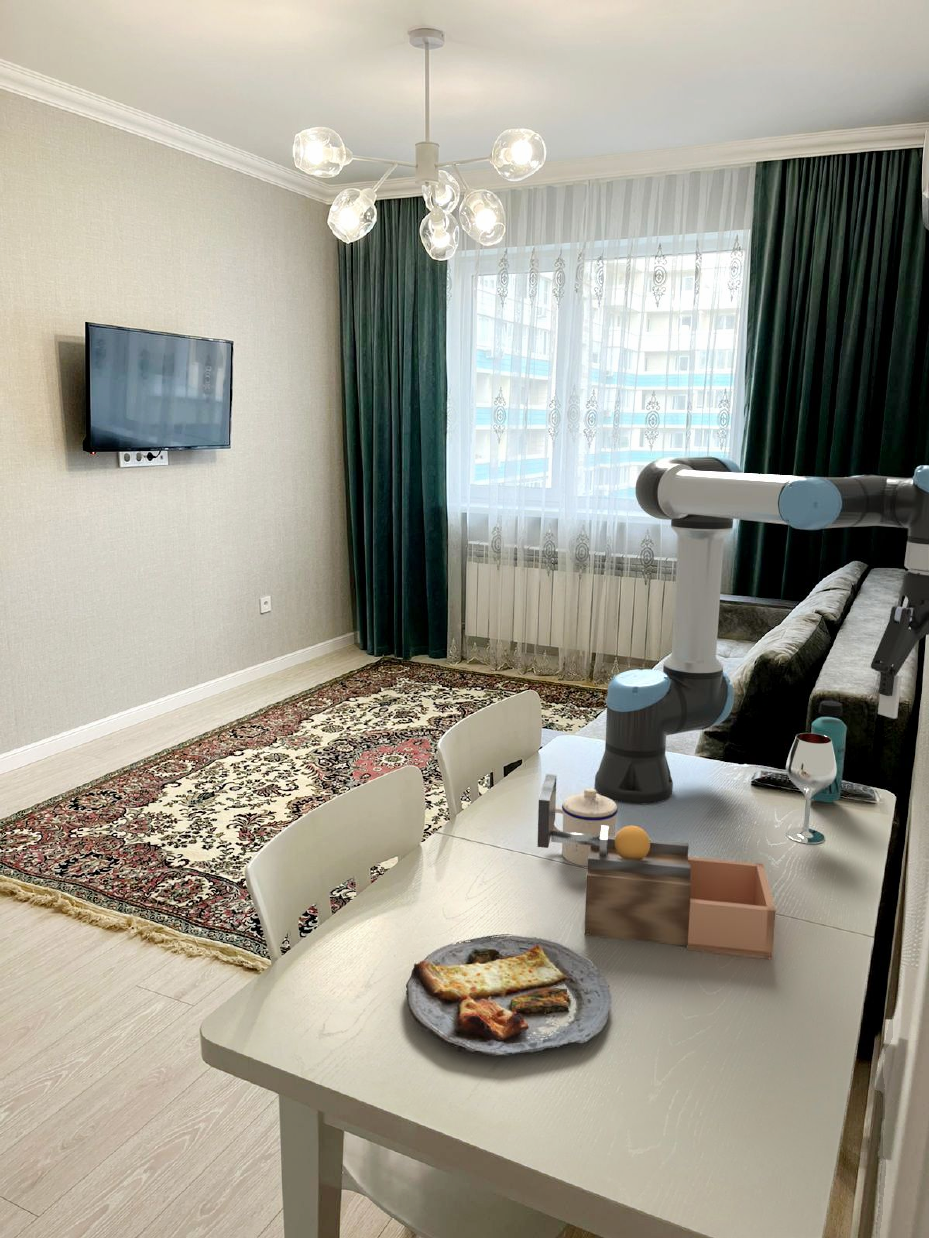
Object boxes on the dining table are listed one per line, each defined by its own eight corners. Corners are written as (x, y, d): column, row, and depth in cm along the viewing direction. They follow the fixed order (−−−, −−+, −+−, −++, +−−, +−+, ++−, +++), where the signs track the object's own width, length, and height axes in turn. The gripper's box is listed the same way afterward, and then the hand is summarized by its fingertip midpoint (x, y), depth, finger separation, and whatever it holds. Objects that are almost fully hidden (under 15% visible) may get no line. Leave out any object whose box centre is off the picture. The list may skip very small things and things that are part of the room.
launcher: (584, 934, 128) (587, 864, 126) (589, 893, 139) (592, 828, 137) (687, 945, 125) (691, 874, 123) (683, 902, 137) (687, 837, 135)
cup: (687, 949, 124) (690, 902, 123) (683, 899, 138) (686, 856, 136) (771, 958, 122) (775, 910, 121) (759, 907, 136) (762, 863, 134)
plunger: (537, 862, 128) (538, 799, 126) (544, 833, 138) (546, 774, 136) (605, 869, 127) (608, 805, 125) (608, 838, 136) (610, 779, 134)
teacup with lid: (623, 850, 154) (625, 785, 152) (604, 872, 146) (607, 804, 144) (556, 835, 160) (558, 772, 157) (535, 856, 152) (537, 790, 149)
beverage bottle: (801, 805, 174) (810, 704, 170) (806, 793, 179) (815, 695, 175) (838, 812, 171) (848, 709, 167) (842, 800, 176) (851, 700, 173)
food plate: (429, 1081, 98) (430, 1052, 98) (388, 964, 120) (389, 940, 120) (641, 1048, 105) (643, 1020, 104) (566, 943, 127) (567, 920, 127)
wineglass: (837, 847, 156) (847, 746, 153) (789, 846, 156) (797, 745, 153) (820, 826, 164) (828, 731, 161) (774, 826, 164) (782, 730, 161)
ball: (606, 856, 132) (608, 824, 131) (634, 849, 134) (635, 817, 133) (628, 870, 127) (630, 837, 126) (656, 863, 130) (658, 830, 129)
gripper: (899, 581, 126) (884, 728, 130) (1008, 569, 138) (990, 705, 142) (853, 573, 132) (840, 714, 137) (960, 563, 144) (945, 692, 148)
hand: (916, 709), depth 139 cm, fingers open, 13 cm apart
